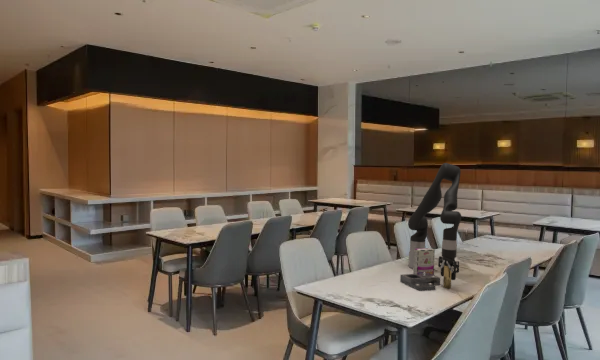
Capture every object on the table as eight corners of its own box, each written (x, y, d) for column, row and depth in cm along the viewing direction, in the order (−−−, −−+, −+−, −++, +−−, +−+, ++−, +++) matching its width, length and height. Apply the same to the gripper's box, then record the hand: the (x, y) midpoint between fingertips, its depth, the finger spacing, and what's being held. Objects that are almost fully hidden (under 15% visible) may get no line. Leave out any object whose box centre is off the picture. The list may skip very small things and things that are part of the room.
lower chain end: (400, 281, 247) (400, 277, 247) (415, 280, 251) (415, 276, 251) (419, 291, 230) (419, 286, 230) (435, 289, 234) (435, 284, 234)
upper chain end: (400, 281, 247) (400, 273, 247) (428, 279, 254) (429, 271, 253) (410, 286, 238) (410, 278, 238) (439, 284, 244) (440, 276, 244)
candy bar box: (429, 275, 264) (430, 248, 264) (433, 277, 260) (435, 249, 259) (412, 275, 262) (413, 248, 261) (416, 278, 257) (418, 250, 256)
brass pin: (441, 286, 240) (442, 265, 239) (447, 286, 241) (448, 264, 241) (446, 289, 236) (447, 266, 236) (452, 288, 237) (453, 266, 237)
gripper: (464, 250, 232) (462, 281, 233) (446, 245, 246) (445, 274, 246) (452, 250, 230) (450, 281, 230) (435, 245, 243) (433, 275, 244)
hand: (447, 277), depth 238 cm, fingers open, 8 cm apart
